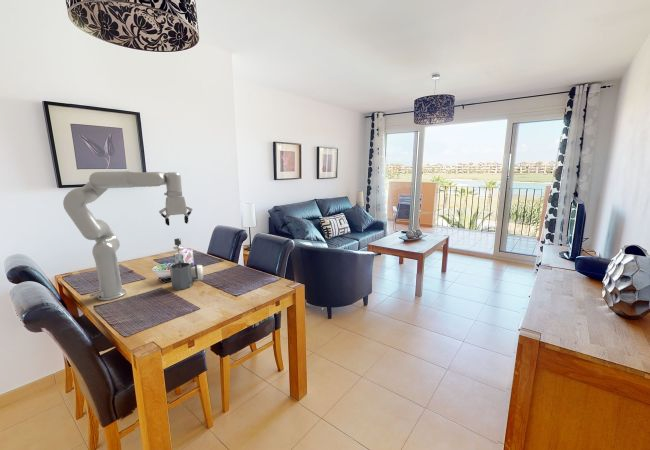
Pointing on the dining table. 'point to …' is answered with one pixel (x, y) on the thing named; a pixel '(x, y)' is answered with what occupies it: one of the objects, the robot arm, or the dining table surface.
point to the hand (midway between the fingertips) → (177, 224)
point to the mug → (199, 271)
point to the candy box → (185, 256)
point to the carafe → (182, 276)
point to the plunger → (178, 242)
